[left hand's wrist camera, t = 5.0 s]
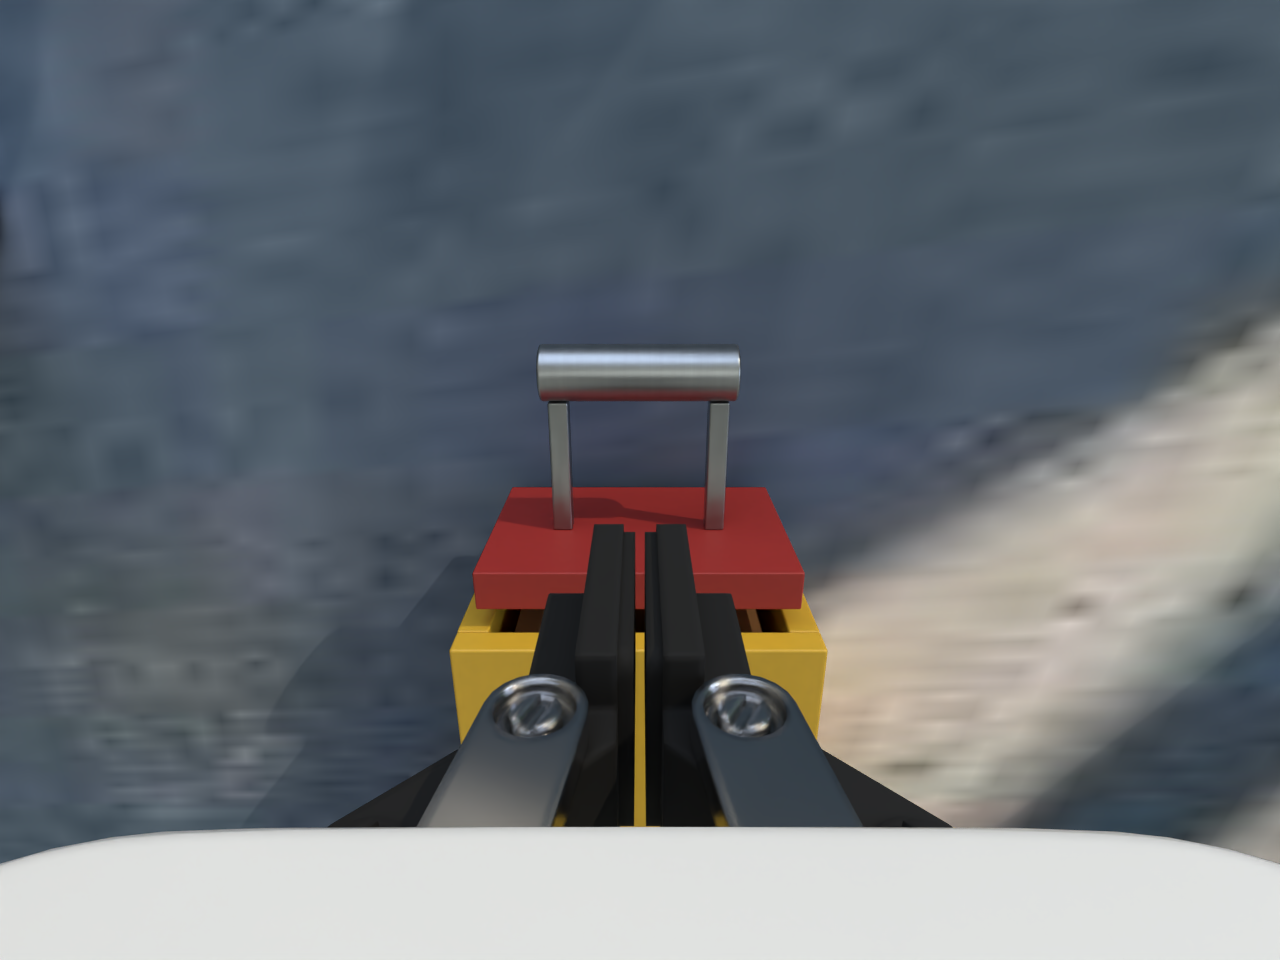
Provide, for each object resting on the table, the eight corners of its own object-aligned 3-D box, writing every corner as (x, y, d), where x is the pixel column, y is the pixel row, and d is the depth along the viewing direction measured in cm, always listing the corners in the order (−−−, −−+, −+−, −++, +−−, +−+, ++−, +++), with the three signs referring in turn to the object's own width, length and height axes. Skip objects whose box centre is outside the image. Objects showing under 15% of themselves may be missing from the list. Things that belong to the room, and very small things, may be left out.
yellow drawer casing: (504, 522, 26) (448, 650, 19) (773, 522, 26) (829, 650, 19) (532, 865, 33) (499, 1063, 26) (746, 865, 33) (778, 1063, 26)
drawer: (500, 326, 23) (450, 366, 17) (777, 326, 23) (826, 366, 17) (538, 835, 31) (514, 982, 25) (739, 835, 31) (763, 982, 25)
